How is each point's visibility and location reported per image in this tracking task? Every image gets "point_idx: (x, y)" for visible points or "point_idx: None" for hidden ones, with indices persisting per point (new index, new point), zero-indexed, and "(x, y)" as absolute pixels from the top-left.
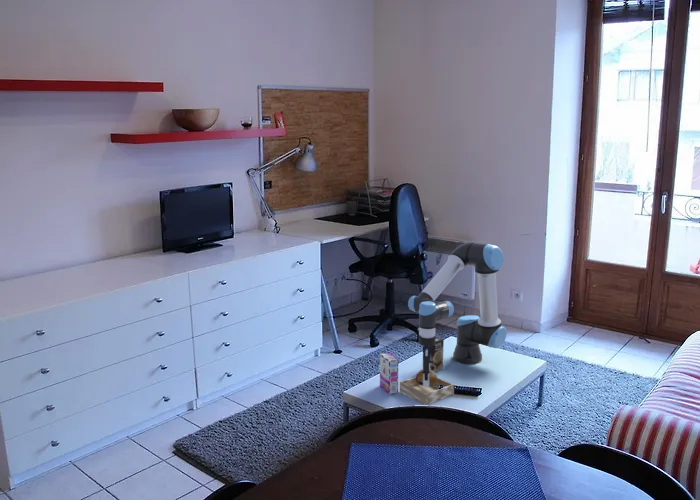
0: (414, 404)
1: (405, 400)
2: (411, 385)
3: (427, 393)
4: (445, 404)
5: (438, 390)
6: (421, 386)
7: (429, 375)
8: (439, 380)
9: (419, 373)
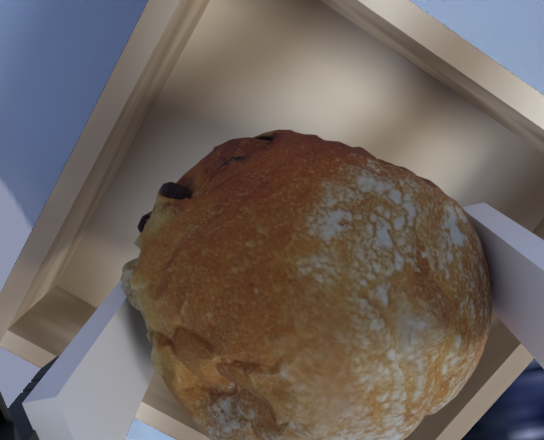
0: (10, 179)
1: (53, 61)
2: (371, 32)
3: (20, 346)
4: (138, 426)
5: (163, 429)
6: (420, 146)
7: (211, 413)
8: (481, 370)
9: (211, 243)
